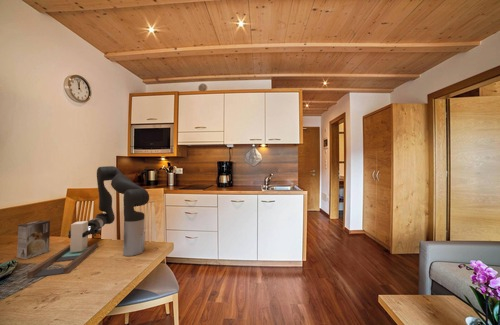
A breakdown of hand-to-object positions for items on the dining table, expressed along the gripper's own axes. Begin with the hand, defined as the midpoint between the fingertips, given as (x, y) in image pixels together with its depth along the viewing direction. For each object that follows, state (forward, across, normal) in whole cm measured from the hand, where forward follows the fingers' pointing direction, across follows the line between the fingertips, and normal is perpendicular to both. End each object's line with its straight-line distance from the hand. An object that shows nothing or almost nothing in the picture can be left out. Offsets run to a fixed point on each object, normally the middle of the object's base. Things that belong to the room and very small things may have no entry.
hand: (76, 235), depth 97 cm
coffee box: (-5, -20, +10) cm, 23 cm away
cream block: (-3, 0, +8) cm, 8 cm away
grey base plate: (+11, 0, +9) cm, 15 cm away
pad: (-3, 0, +9) cm, 10 cm away
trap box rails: (+6, 0, +9) cm, 11 cm away
